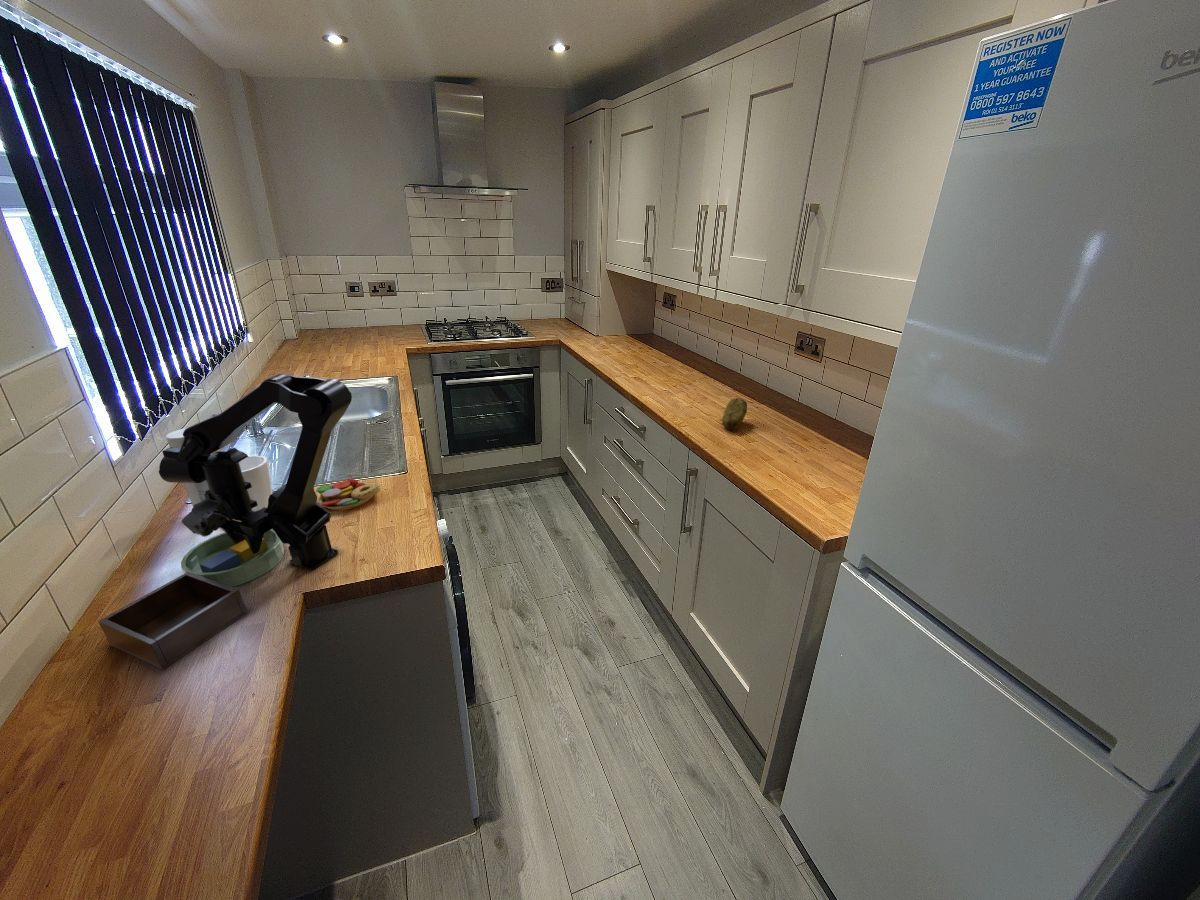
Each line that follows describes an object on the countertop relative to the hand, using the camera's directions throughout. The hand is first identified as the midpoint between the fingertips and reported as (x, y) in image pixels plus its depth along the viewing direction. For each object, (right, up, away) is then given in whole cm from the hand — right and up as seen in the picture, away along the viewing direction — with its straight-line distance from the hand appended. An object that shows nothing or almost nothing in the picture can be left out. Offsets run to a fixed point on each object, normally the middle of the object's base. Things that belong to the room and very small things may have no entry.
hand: (249, 550), depth 106 cm
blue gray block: (-2, -3, -5) cm, 6 cm away
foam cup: (-8, +5, +16) cm, 19 cm away
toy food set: (+10, +8, +22) cm, 25 cm away
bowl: (-1, -2, -2) cm, 3 cm away
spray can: (-21, +6, +17) cm, 28 cm away
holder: (+1, -10, -19) cm, 21 cm away
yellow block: (0, -1, 0) cm, 1 cm away
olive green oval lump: (+114, +28, +63) cm, 134 cm away
